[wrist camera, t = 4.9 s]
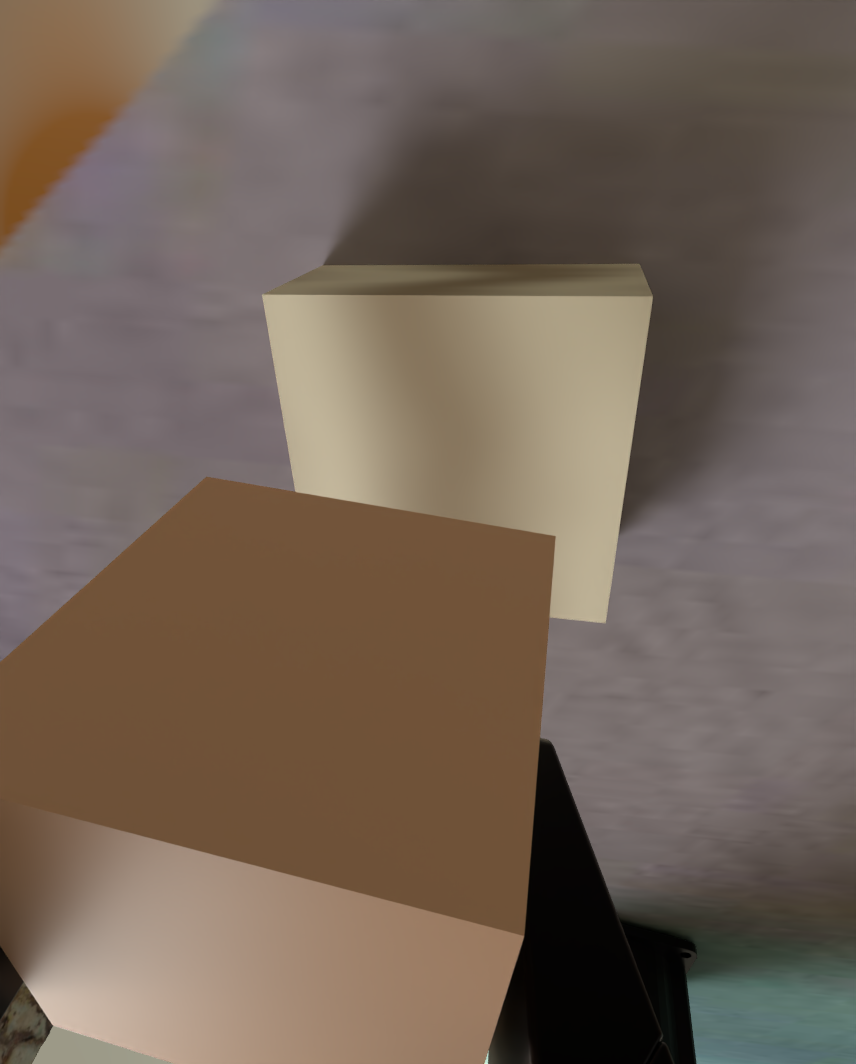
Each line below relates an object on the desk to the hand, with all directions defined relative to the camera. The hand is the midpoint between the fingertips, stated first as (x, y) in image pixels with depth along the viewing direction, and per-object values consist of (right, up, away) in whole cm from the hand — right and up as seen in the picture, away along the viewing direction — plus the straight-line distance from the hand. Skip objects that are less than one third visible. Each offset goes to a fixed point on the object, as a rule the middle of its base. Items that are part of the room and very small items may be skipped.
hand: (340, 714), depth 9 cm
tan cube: (0, +1, +1) cm, 2 cm away
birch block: (+3, +6, +9) cm, 11 cm away
